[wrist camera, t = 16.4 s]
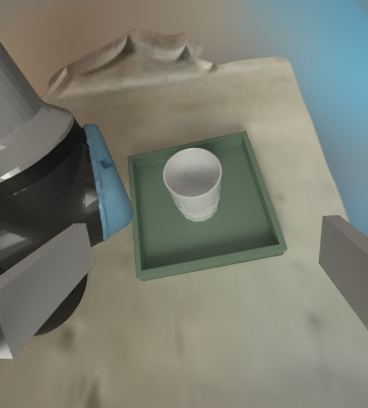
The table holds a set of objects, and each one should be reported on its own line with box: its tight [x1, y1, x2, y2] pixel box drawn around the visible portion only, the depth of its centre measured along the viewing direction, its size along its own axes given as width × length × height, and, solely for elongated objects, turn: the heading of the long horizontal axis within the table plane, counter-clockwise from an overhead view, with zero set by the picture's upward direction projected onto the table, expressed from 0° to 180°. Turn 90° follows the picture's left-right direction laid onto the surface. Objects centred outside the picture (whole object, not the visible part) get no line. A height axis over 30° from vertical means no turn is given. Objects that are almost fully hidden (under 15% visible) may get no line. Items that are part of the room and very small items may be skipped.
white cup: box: [163, 148, 222, 222], centre depth 38 cm, size 8×8×10 cm
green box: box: [128, 131, 287, 281], centre depth 42 cm, size 22×22×4 cm
